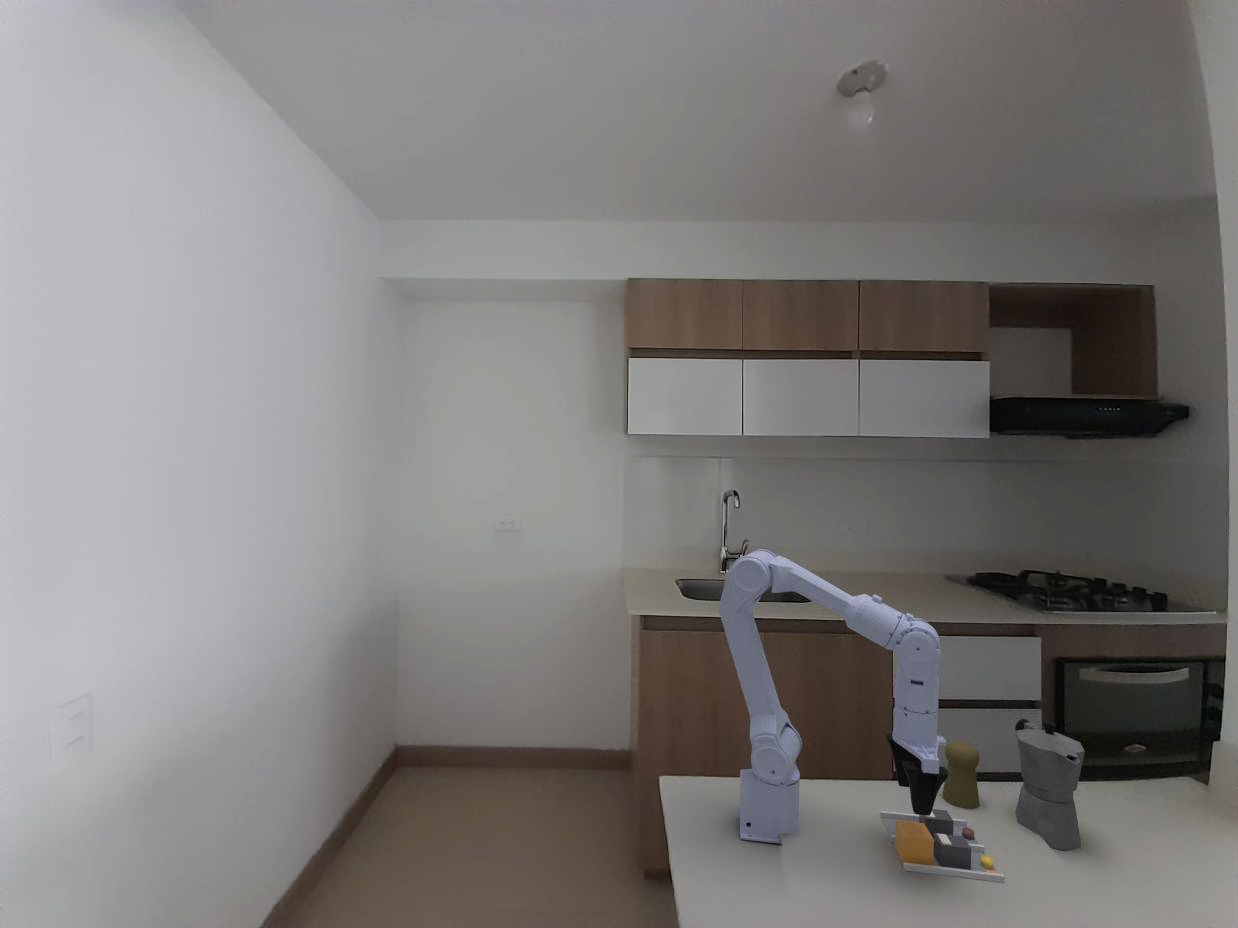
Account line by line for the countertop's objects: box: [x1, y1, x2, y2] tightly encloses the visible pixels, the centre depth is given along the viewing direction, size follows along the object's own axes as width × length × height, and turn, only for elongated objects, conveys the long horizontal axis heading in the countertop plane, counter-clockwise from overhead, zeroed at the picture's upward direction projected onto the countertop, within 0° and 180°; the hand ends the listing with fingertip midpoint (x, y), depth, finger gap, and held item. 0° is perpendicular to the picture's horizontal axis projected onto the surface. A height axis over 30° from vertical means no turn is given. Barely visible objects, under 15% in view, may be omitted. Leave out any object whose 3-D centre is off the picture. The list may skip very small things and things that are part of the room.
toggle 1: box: [919, 808, 954, 839], centre depth 98 cm, size 4×3×3 cm
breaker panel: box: [879, 810, 1006, 884], centre depth 95 cm, size 13×14×2 cm
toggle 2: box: [934, 833, 971, 870], centre depth 91 cm, size 4×3×3 cm
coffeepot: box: [1014, 718, 1086, 851], centre depth 103 cm, size 15×9×18 cm, turn 176°
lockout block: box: [895, 820, 933, 866], centre depth 92 cm, size 4×4×4 cm
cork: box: [941, 740, 981, 810], centre depth 108 cm, size 6×6×11 cm
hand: (913, 799), depth 92 cm, fingers open, 7 cm apart
